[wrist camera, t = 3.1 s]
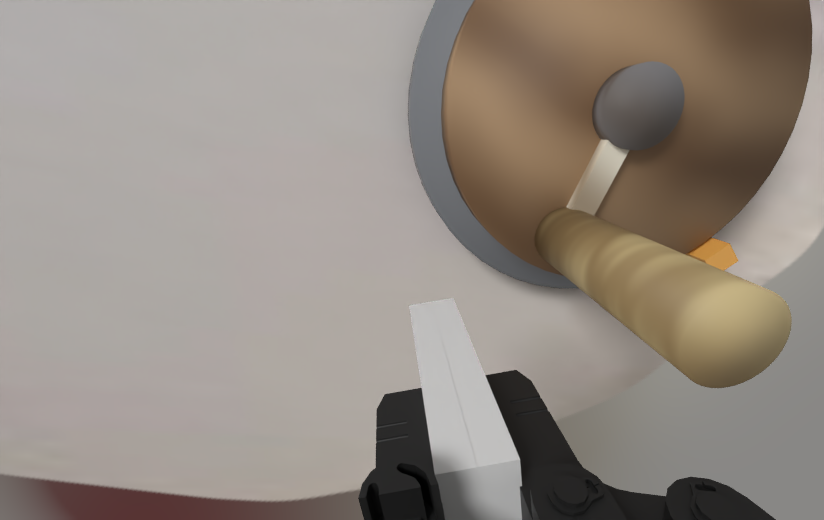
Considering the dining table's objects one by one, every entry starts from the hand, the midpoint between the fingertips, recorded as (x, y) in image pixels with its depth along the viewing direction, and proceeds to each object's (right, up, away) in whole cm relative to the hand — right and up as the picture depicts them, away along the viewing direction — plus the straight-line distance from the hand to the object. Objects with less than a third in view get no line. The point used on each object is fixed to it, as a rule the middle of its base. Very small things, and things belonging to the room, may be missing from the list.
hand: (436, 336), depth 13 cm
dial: (+9, +10, +6) cm, 15 cm away
